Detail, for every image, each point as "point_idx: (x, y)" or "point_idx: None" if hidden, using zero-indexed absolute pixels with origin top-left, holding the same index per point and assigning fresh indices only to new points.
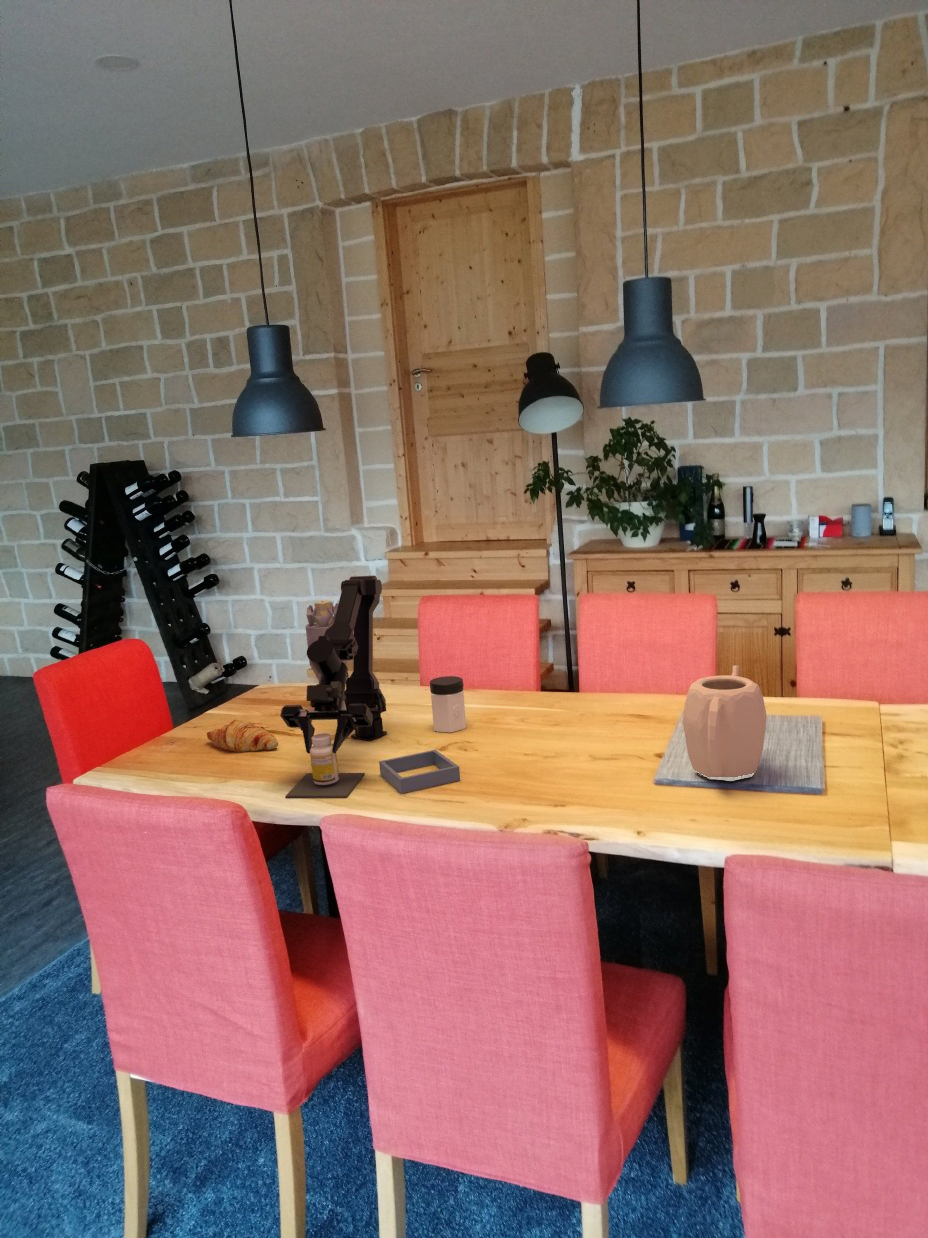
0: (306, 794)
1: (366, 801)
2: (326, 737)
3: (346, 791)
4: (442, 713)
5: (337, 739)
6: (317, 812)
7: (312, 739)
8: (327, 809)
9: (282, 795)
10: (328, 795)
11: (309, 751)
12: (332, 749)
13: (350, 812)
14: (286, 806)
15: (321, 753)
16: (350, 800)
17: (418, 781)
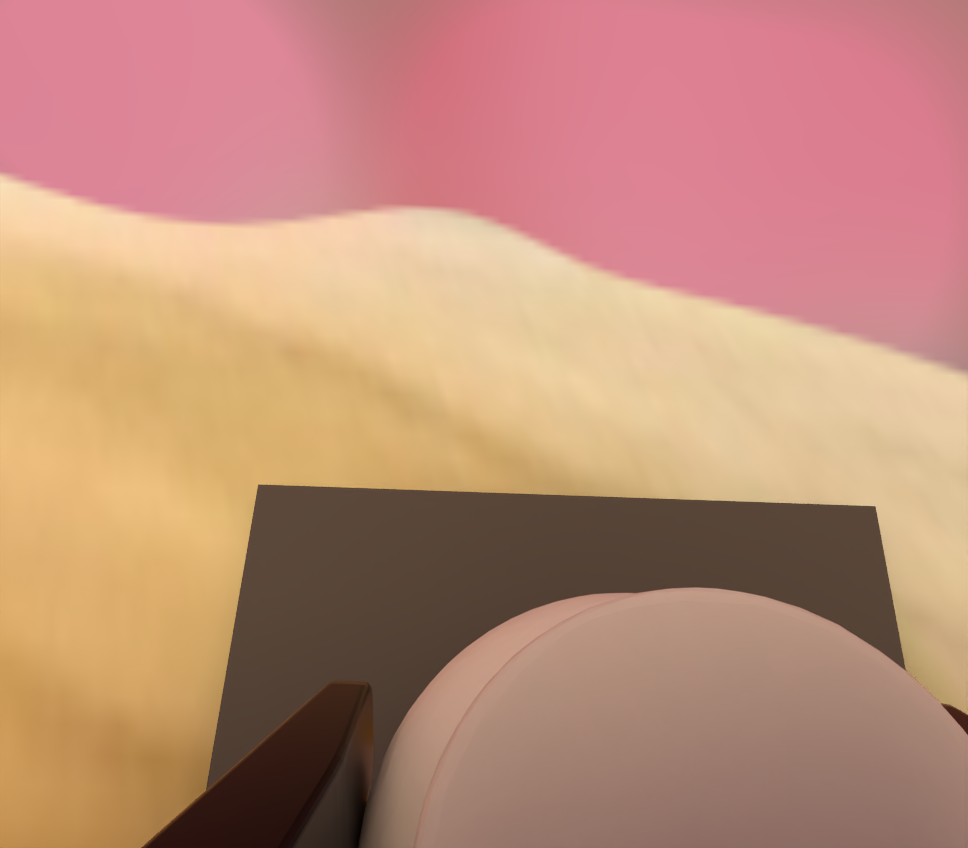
0: (673, 528)
1: (77, 420)
2: (503, 758)
3: (277, 591)
4: None
5: (190, 828)
6: (455, 237)
7: (914, 686)
8: (389, 283)
9: (940, 589)
10: (440, 496)
11: None
12: (384, 761)
13: (196, 231)
14: (761, 346)
15: (576, 601)
16: (225, 446)
17: None
